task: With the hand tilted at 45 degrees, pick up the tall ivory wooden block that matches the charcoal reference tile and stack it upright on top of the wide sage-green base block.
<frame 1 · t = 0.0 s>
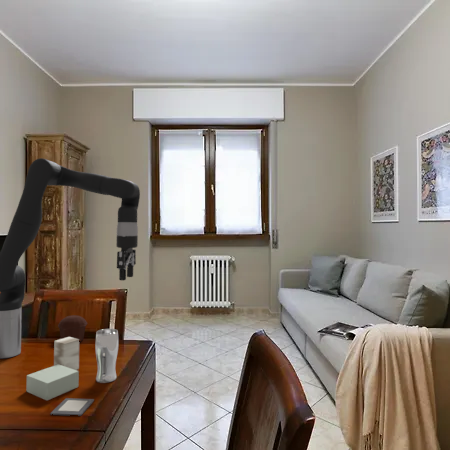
hand: (126, 278, 130), 29 cm above the table, tool pointing down, fingers open, 8 cm apart
muffin: (72, 340, 150), on the table
reference tile: (73, 407, 94), on the table
sage base block: (52, 390, 104), on the table
beer glass: (106, 379, 112), on the table
ivory block: (66, 369, 118), on the table
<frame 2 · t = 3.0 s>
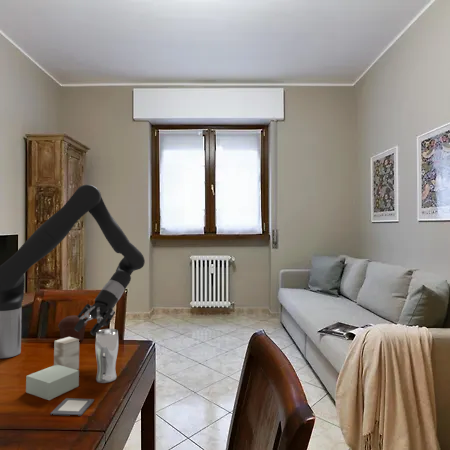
hand: (84, 332, 124), 11 cm above the table, tool tilted 45°, fingers open, 8 cm apart
nothing on the table moved.
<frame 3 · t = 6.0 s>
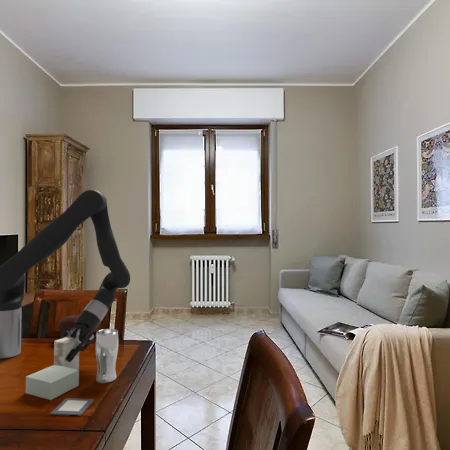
hand: (61, 358, 117), 4 cm above the table, tool tilted 45°, fingers closed on ivory block, 5 cm apart
ivory block: (66, 369, 118), on the table, touching gripper
everything else where it was.
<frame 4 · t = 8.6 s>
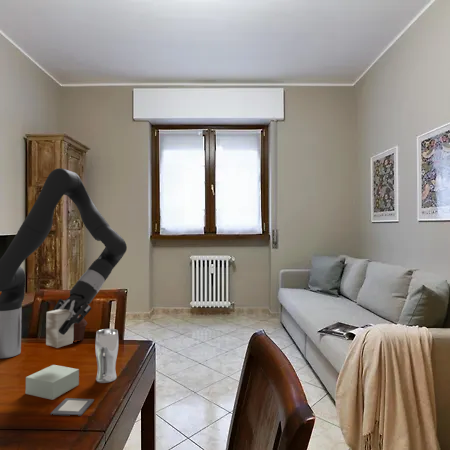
hand: (54, 331, 107), 16 cm above the table, tool tilted 45°, fingers closed on ivory block, 5 cm apart
ivory block: (59, 343, 108), point 12 cm above the table, touching gripper
everything else where it was.
when the fingers open (11 cm above the table, at t = 11.2 s): ivory block drops 2 cm, resting on sage base block.
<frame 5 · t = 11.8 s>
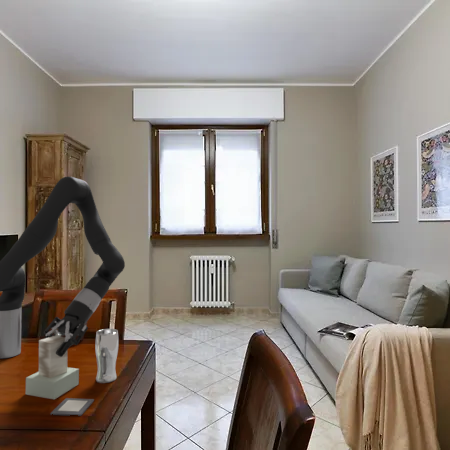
hand: (49, 352, 103), 11 cm above the table, tool tilted 45°, fingers open, 8 cm apart
sage base block: (52, 390, 104), on the table, touching ivory block
ivory block: (53, 373, 104), point 5 cm above the table, touching sage base block
everything else where it was.
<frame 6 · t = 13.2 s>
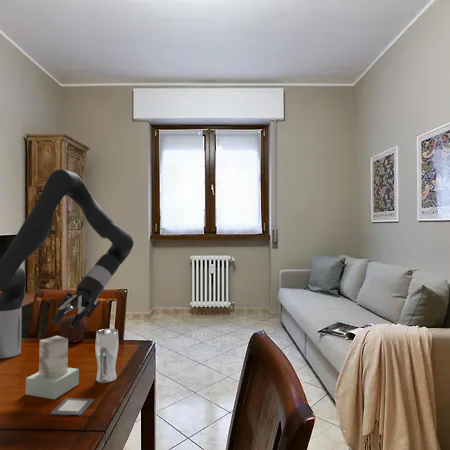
hand: (62, 324, 107), 18 cm above the table, tool tilted 45°, fingers open, 8 cm apart
nothing on the table moved.
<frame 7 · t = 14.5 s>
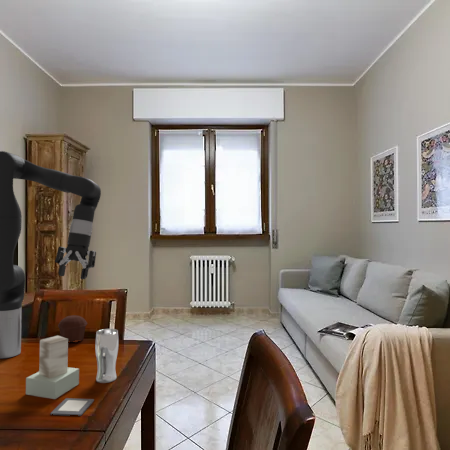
hand: (72, 277, 126), 30 cm above the table, tool pointing down, fingers open, 8 cm apart
nothing on the table moved.
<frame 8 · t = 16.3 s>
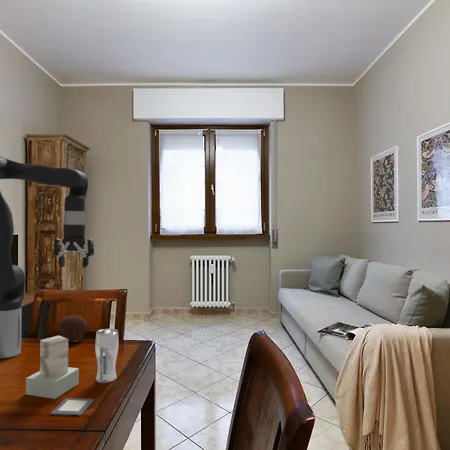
hand: (73, 267, 131), 33 cm above the table, tool pointing down, fingers open, 8 cm apart
nothing on the table moved.
at the end: ivory block 0.2 cm off-centre on the sage base block, point 5.0 cm above the sage base block's base; ivory block tilted 0°; the gripper is holding nothing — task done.
